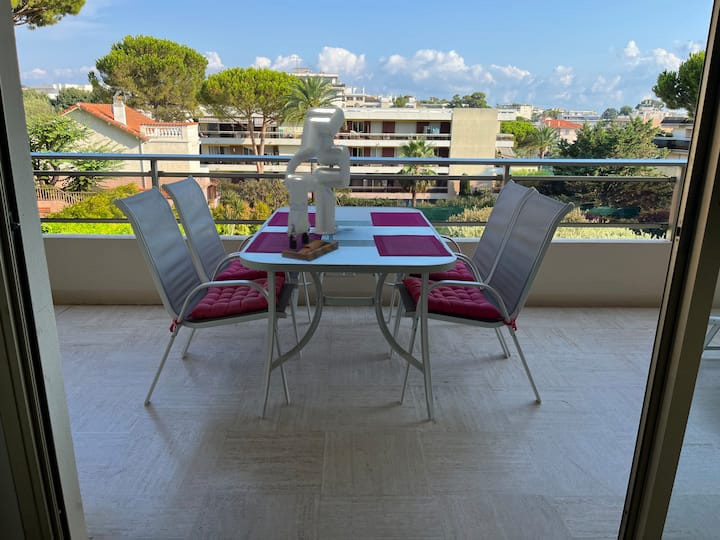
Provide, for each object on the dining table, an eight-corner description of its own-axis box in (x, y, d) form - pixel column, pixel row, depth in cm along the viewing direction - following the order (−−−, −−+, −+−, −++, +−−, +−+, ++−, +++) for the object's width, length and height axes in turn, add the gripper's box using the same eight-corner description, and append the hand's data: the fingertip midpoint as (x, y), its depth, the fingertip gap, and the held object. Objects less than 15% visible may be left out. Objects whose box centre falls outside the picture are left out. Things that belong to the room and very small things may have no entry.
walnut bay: (311, 244, 237) (311, 238, 236) (338, 248, 232) (338, 241, 231) (281, 256, 216) (281, 249, 216) (309, 261, 211) (309, 254, 210)
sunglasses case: (305, 246, 235) (313, 233, 232) (319, 254, 235) (326, 242, 232) (293, 256, 218) (301, 243, 215) (308, 265, 218) (316, 253, 215)
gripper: (301, 203, 230) (302, 241, 235) (279, 208, 215) (280, 249, 220) (317, 204, 227) (317, 243, 232) (295, 210, 212) (295, 252, 217)
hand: (299, 246), depth 226 cm, fingers open, 9 cm apart
